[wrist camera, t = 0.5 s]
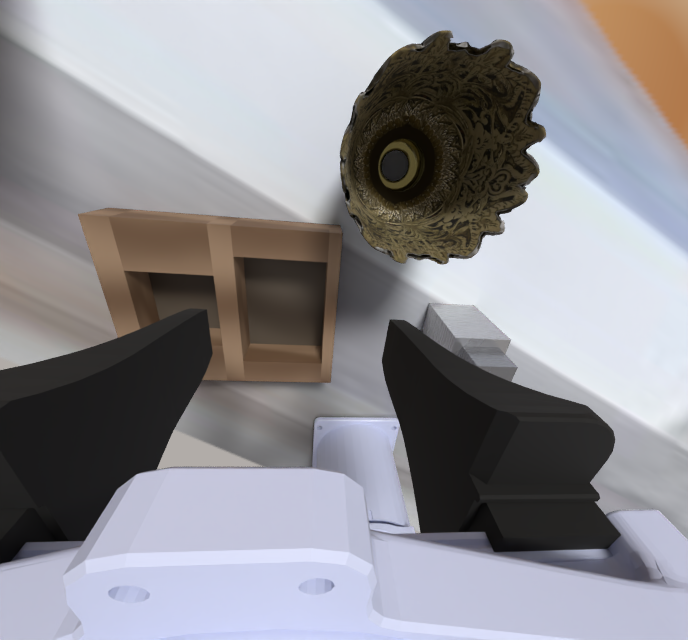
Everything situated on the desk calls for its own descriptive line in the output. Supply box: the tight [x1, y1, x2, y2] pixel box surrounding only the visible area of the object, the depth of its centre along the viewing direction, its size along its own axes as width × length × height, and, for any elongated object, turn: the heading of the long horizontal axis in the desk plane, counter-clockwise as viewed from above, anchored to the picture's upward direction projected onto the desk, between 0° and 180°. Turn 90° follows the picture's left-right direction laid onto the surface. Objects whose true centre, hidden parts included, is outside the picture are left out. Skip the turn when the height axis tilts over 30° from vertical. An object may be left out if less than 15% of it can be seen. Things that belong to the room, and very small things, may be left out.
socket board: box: [78, 208, 343, 383], centre depth 20 cm, size 11×14×2 cm
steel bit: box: [422, 303, 518, 382], centre depth 20 cm, size 4×4×7 cm
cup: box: [340, 31, 546, 264], centre depth 14 cm, size 7×7×8 cm
